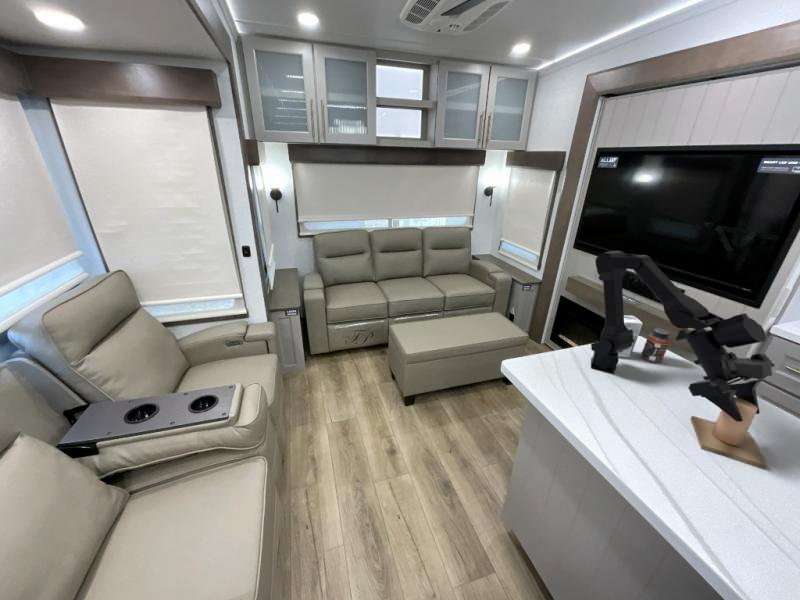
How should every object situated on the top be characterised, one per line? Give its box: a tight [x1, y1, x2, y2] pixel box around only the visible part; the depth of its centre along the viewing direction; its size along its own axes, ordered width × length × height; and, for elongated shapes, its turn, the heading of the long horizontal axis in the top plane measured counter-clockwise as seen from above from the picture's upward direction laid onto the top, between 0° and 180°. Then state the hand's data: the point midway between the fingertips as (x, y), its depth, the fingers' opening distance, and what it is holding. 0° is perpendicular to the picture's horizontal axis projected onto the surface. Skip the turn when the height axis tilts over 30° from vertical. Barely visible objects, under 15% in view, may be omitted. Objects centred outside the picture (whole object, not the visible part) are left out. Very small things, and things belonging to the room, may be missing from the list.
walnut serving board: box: [690, 415, 768, 470], centre depth 76 cm, size 11×11×1 cm
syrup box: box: [618, 314, 644, 359], centre depth 109 cm, size 6×6×14 cm
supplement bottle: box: [640, 328, 671, 364], centre depth 107 cm, size 6×6×11 cm
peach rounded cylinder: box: [712, 396, 758, 446], centre depth 74 cm, size 5×5×10 cm
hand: (748, 417), depth 71 cm, fingers open, 6 cm apart
